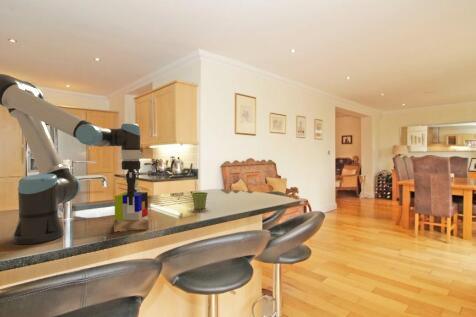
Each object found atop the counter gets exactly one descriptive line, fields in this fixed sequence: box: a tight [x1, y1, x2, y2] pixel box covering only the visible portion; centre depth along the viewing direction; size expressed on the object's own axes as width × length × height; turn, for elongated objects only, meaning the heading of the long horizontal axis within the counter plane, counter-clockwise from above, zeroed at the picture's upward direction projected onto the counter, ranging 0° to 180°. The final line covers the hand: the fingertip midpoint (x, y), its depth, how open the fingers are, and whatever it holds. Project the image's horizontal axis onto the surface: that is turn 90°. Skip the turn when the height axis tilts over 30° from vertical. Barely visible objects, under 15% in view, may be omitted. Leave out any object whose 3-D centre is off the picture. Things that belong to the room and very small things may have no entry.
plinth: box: [113, 214, 149, 233], centre depth 117 cm, size 13×13×4 cm
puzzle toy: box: [114, 191, 149, 221], centre depth 117 cm, size 10×10×10 cm
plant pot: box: [190, 191, 209, 210], centre depth 155 cm, size 9×9×9 cm
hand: (131, 209), depth 117 cm, fingers open, 13 cm apart
